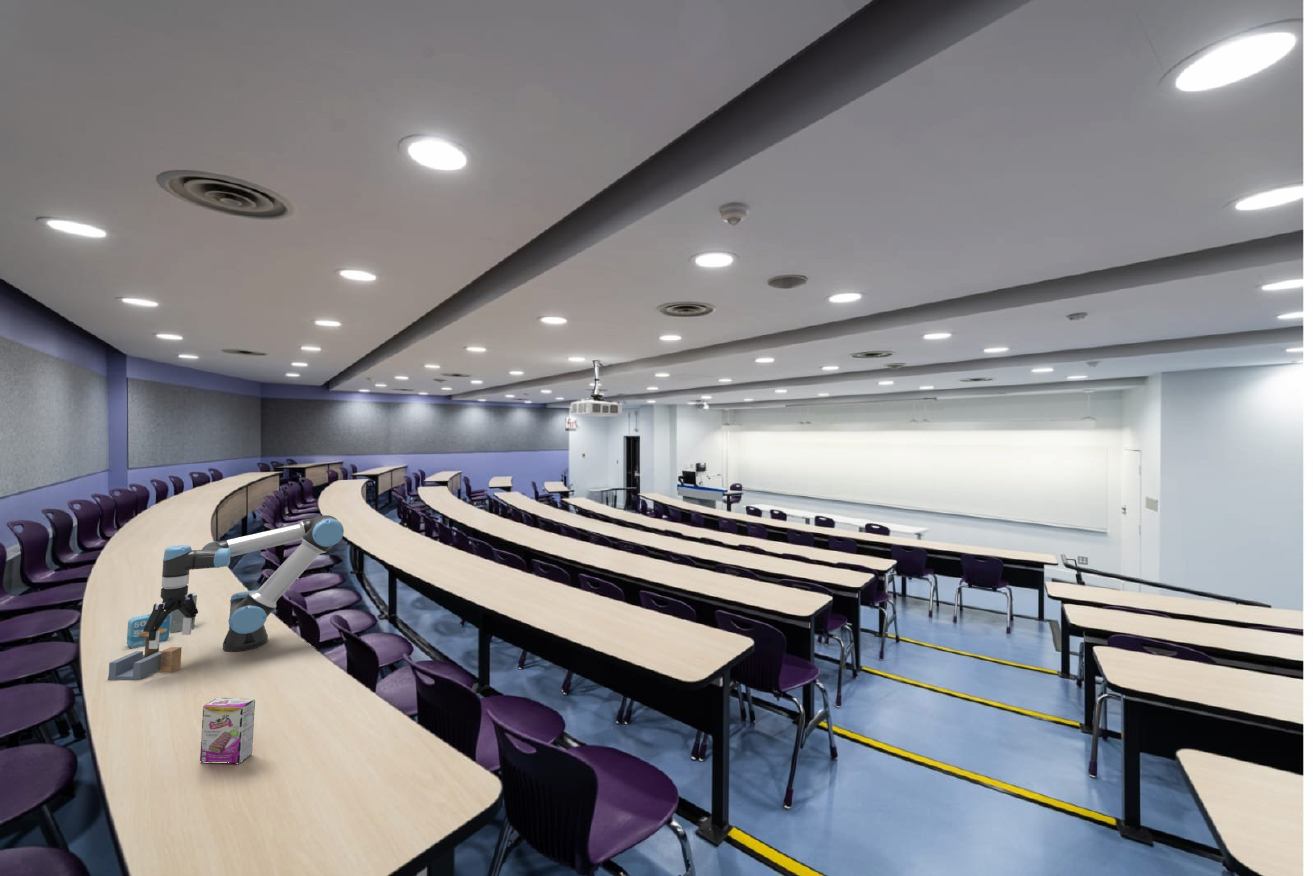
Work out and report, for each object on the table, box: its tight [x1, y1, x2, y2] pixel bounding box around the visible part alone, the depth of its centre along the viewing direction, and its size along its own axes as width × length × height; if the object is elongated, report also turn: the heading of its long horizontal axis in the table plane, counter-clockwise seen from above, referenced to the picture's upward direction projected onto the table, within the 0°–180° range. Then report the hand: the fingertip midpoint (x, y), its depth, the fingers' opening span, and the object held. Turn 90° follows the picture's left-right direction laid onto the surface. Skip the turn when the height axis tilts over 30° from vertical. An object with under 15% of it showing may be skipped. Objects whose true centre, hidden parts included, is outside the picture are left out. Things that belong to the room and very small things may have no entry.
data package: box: [126, 613, 170, 649], centre depth 209 cm, size 12×4×12 cm, turn 150°
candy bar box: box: [199, 697, 256, 765], centre depth 138 cm, size 11×5×16 cm, turn 92°
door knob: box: [138, 628, 167, 659], centre depth 195 cm, size 9×9×11 cm
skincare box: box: [169, 592, 198, 634], centre depth 225 cm, size 8×7×16 cm
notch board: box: [107, 650, 162, 681], centre depth 183 cm, size 11×10×6 cm
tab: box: [159, 646, 183, 673], centre depth 187 cm, size 4×4×8 cm
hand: (170, 641), depth 187 cm, fingers open, 13 cm apart
